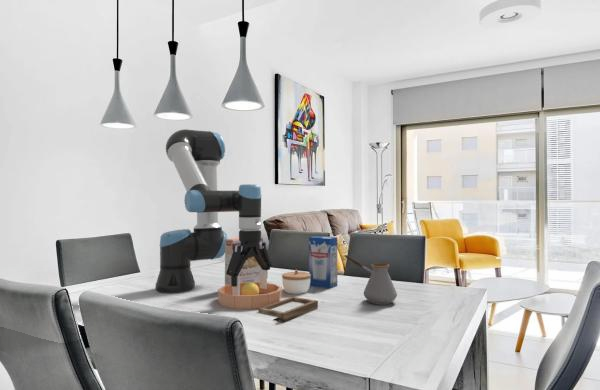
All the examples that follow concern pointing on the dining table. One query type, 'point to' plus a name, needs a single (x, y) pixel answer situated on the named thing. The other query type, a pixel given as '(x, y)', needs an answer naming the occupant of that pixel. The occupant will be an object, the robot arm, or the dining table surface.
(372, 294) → the coffee pot
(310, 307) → the tray
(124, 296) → the dining table surface
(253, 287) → the ball
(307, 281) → the lidded jar
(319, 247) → the milk carton
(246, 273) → the cracker box
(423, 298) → the dining table surface
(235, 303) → the bowl
